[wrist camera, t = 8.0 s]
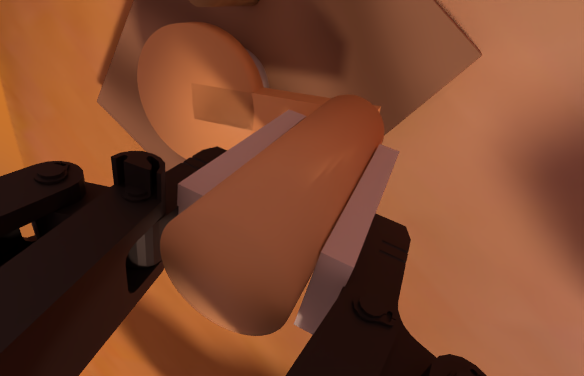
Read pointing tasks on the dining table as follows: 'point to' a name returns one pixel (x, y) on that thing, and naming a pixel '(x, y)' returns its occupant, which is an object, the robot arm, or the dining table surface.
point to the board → (305, 53)
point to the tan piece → (250, 175)
